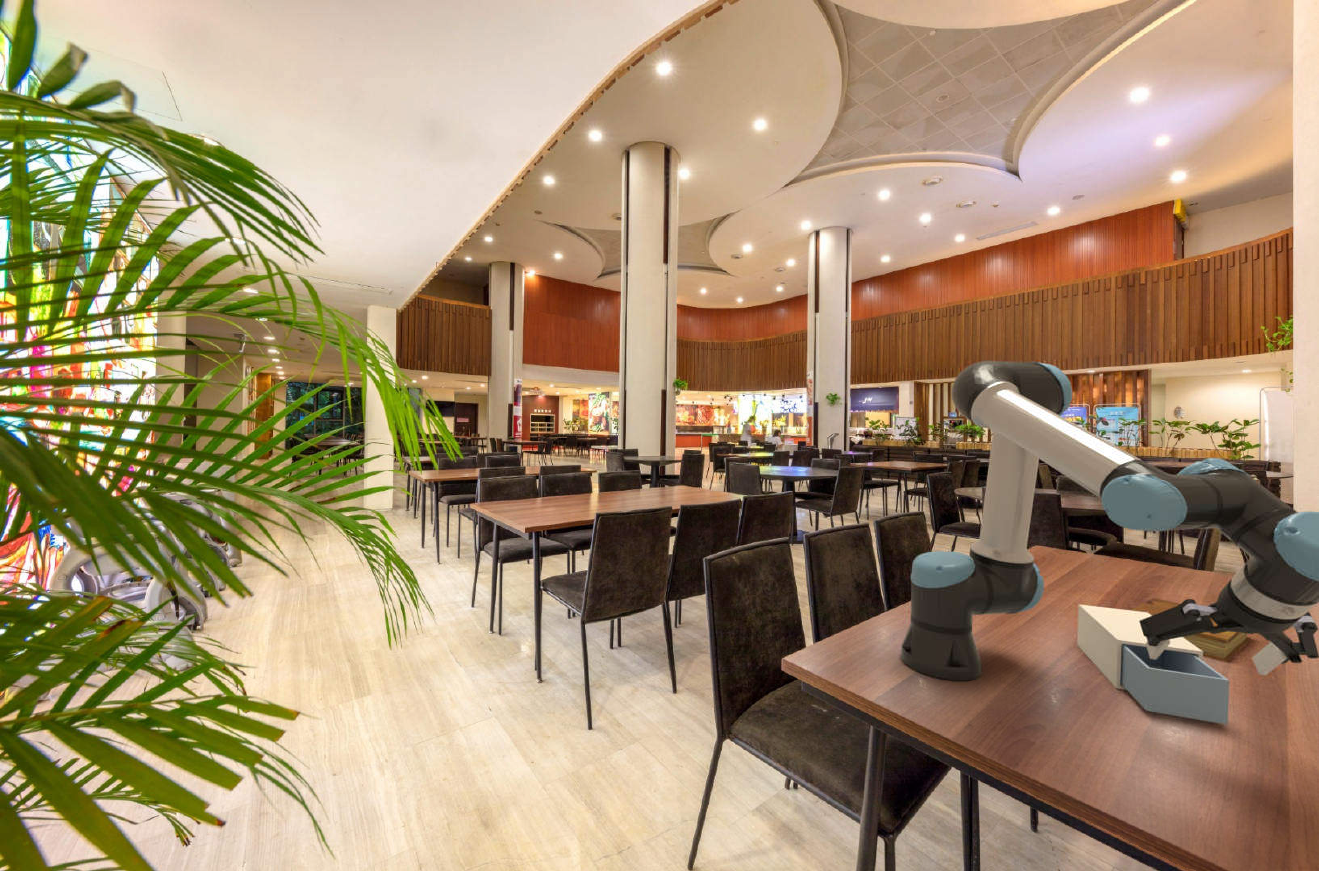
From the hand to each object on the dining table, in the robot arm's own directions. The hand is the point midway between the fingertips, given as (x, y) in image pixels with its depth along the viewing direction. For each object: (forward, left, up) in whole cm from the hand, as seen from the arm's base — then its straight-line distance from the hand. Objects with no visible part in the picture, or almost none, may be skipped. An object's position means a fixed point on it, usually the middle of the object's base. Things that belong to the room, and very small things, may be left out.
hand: (1202, 658), depth 88 cm
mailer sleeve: (+22, +11, -13) cm, 27 cm away
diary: (+56, +5, -13) cm, 57 cm away
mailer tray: (+13, +7, -13) cm, 19 cm away
